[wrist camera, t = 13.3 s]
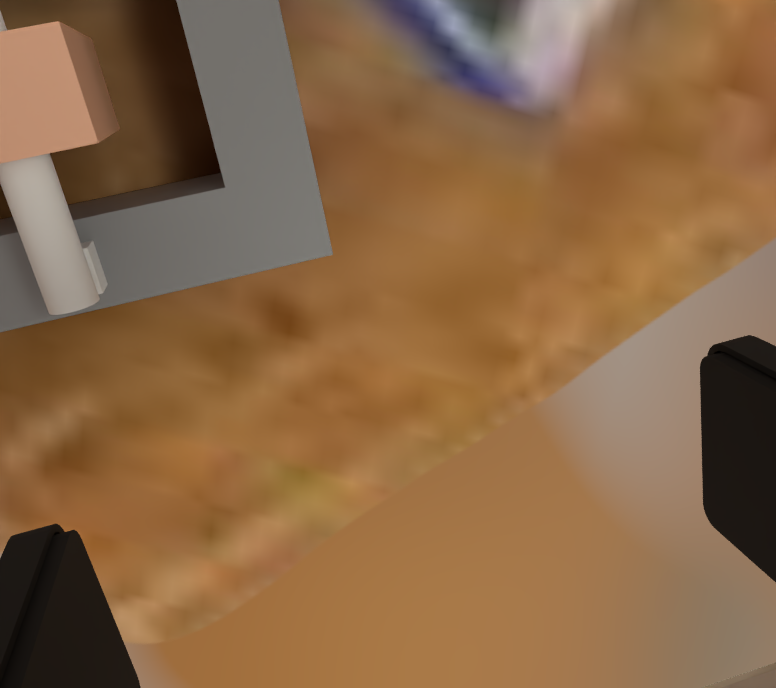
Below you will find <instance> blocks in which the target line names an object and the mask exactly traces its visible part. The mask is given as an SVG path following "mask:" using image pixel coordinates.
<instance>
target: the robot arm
mask: <svg viewBox="0 0 776 688" xmlns="http://www.w3.org/2000/svg"><path fill="white" fill-rule="evenodd" d="M700 385H701V386H700V387H701V428H702V429H701V430H702V473H703V505H704V510H705V513H706V516H707V517H708V520H709V521H710V523H711V524H712V526H713V527H714V528H715V529H716V530H717V531H719V532H720V533H721V534H722V535H723V536H724V537H725V538H726V539H728V540H729V541H730V542H731V543H732V544H733V545H734V546H736V547H737V548H738V549H739V550H740V551H741V552H742V553H743V554H744V555H746V556H747V557H748V558H749V559H750V560H751V561H752V562H753V563H755V564H756V565H757V566H758V567H759V568H760V569H761V570H762V571H764V572H765V573H766V574H767V575H768V576H769V577H770V578H771V579H773V580H774V581H775V582H776V346H774V345H772V344H770V343H768V342H766V341H764V340H761V339H759V338H757V337H754V336H751V335H748V336H744V337H740V338H737V339H733V340H729V341H726V342H722V343H718V344H715V345H713V346H712V347H711V348H710V350H709V352H708V356H706V357H704V358H703V359H702V361H701V365H700ZM0 688H140V684H139V680H138V677H137V674H136V672H135V669H134V667H133V664H132V662H131V659H130V657H129V654H128V652H127V650H126V647H125V645H124V642H123V640H122V637H121V635H120V632H119V630H118V627H117V625H116V623H115V620H114V618H113V615H112V613H111V610H110V608H109V605H108V603H107V600H106V598H105V596H104V593H103V591H102V588H101V586H100V583H99V581H98V578H97V576H96V573H95V571H94V569H93V566H92V564H91V561H90V559H89V556H88V554H87V551H86V549H85V546H84V544H83V541H82V539H81V537H80V535H79V534H78V532H77V531H75V530H71V531H68V532H64V530H63V529H62V528H61V526H60V525H58V524H53V525H49V526H46V527H42V528H38V529H35V530H31V531H27V532H24V533H20V534H16V535H13V536H11V537H10V539H9V540H8V542H7V545H6V547H5V549H4V551H3V554H2V556H1V558H0ZM703 688H776V663H773V664H770V665H767V666H764V667H761V668H758V669H755V670H752V671H749V672H747V673H743V674H740V675H737V676H735V677H732V678H729V679H726V680H723V681H720V682H717V683H714V684H711V685H708V686H705V687H703Z"/></svg>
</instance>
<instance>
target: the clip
mask: <svg viewBox="0 0 776 688" xmlns="http://www.w3.org/2000/svg"><path fill="white" fill-rule="evenodd" d="M118 130H120V127H119V124H118V121H117V118H116V114H115V111H114V108H113V105H112V102H111V98H110V95H109V92H108V89H107V86H106V82H105V79H104V76H103V73H102V70H101V66H100V63H99V60H98V57H97V54H96V51H95V47H94V44H93V41H92V38H90V37H88V36H86V35H84V34H82V33H80V32H78V31H76V30H75V29H73V28H71V27H69V26H67V25H65V24H63V23H61V22H59V21H56V22H51V23H45V24H40V25H34V26H29V27H23V28H18V29H12V30H7V31H1V32H0V164H1V163H6V162H10V161H15V160H20V159H25V158H29V157H34V156H39V155H44V154H49V153H53V152H58V151H63V150H68V149H72V148H77V147H82V146H87V145H91V144H96V143H99V142H101V141H102V140H104V139H105V138H107V137H109V136H110V135H112V134H113V133H115V132H116V131H118Z"/></svg>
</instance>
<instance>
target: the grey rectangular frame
mask: <svg viewBox="0 0 776 688" xmlns="http://www.w3.org/2000/svg"><path fill="white" fill-rule="evenodd" d="M176 1H177V5H178V9H179V13H180V17H181V20H182V24H183V28H184V32H185V36H186V40H187V43H188V47H189V51H190V55H191V59H192V63H193V66H194V70H195V74H196V78H197V82H198V85H199V89H200V93H201V97H202V101H203V105H204V108H205V112H206V116H207V120H208V124H209V127H210V131H211V135H212V139H213V143H214V147H215V150H216V154H217V158H218V162H219V166H220V170H221V173H217V174H212V175H207V176H203V177H198V178H193V179H189V180H184V181H179V182H175V183H170V184H165V185H160V186H156V187H151V188H146V189H142V190H137V191H132V192H127V193H123V194H118V195H113V196H109V197H104V198H99V199H94V200H90V201H85V202H80V203H76V204H71V205H67V202H66V199H65V196H64V194H63V191H62V188H61V185H60V182H59V179H58V176H57V173H56V170H55V167H54V165H53V162H52V159H51V156H50V153H49V154H44V155H39V156H34V157H29V158H25V159H20V160H15V161H10V162H6V163H1V164H0V184H1V187H2V189H3V192H4V195H5V197H6V200H7V203H8V205H9V208H10V211H11V213H12V216H13V217H10V218H5V219H0V332H4V331H8V330H12V329H16V328H21V327H25V326H29V325H34V324H38V323H42V322H46V321H51V320H55V319H59V318H64V317H68V316H72V315H76V314H81V313H85V312H89V311H94V310H98V309H102V308H106V307H111V306H115V305H119V304H124V303H128V302H132V301H136V300H141V299H145V298H149V297H154V296H158V295H162V294H166V293H171V292H175V291H179V290H183V289H188V288H192V287H196V286H201V285H205V284H209V283H213V282H218V281H222V280H226V279H231V278H235V277H239V276H243V275H248V274H252V273H256V272H261V271H265V270H269V269H273V268H278V267H282V266H286V265H291V264H295V263H299V262H303V261H308V260H312V259H316V258H321V257H325V256H329V255H333V252H332V248H331V243H330V238H329V234H328V229H327V224H326V220H325V215H324V210H323V206H322V201H321V196H320V192H319V187H318V182H317V178H316V173H315V168H314V164H313V159H312V154H311V150H310V145H309V140H308V136H307V131H306V126H305V122H304V117H303V112H302V108H301V103H300V98H299V94H298V89H297V84H296V80H295V75H294V70H293V66H292V61H291V56H290V52H289V47H288V42H287V38H286V33H285V28H284V24H283V19H282V14H281V10H280V5H279V0H176ZM1 31H7V28H6V25H5V22H4V19H3V17H2V14H1V11H0V32H1Z"/></svg>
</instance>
